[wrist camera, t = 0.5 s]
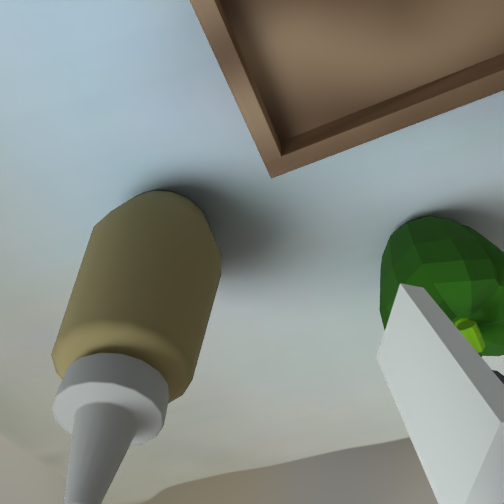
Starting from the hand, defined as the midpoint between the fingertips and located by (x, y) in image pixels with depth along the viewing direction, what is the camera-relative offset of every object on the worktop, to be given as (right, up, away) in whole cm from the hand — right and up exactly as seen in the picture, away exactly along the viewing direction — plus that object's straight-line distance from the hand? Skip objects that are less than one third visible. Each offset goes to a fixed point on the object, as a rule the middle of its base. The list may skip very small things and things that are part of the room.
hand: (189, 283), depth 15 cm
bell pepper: (+14, +1, +17) cm, 22 cm away
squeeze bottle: (-4, +3, +16) cm, 17 cm away
